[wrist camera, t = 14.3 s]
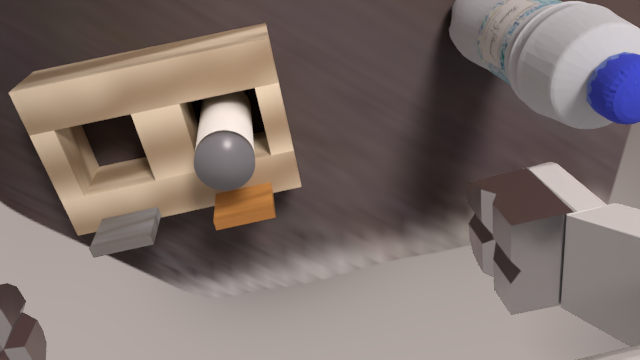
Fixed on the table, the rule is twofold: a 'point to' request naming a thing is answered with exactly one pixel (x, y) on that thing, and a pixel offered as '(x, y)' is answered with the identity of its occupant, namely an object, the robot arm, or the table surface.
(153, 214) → the socket block
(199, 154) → the white grey cylinder
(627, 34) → the bottle
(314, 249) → the table surface
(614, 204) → the robot arm
